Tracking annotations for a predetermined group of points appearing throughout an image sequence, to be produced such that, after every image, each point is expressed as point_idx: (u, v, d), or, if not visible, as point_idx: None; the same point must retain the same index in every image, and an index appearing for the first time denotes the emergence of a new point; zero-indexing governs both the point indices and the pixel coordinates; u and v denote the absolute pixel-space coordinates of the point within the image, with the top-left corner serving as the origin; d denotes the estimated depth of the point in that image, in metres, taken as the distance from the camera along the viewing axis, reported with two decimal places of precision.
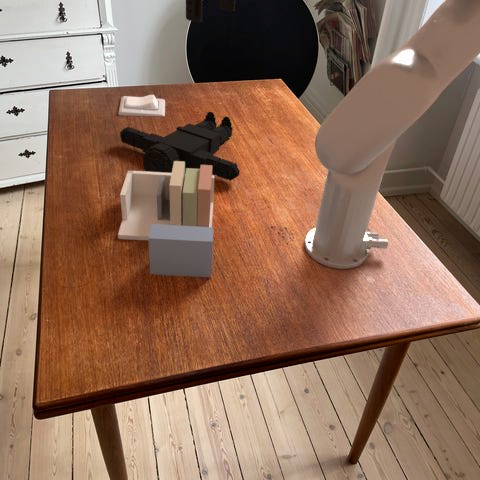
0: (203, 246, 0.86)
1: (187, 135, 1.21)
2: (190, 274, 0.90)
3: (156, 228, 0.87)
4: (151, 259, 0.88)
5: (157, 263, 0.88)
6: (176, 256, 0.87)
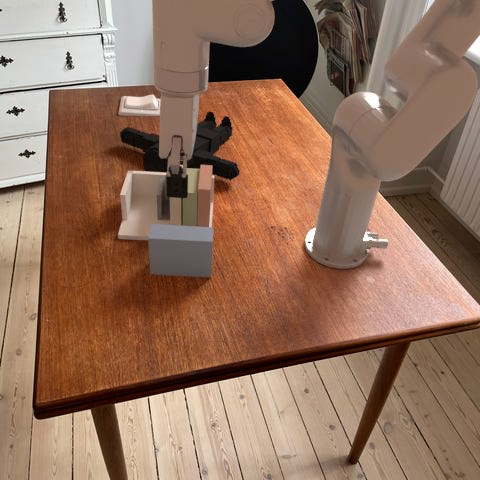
0: (203, 246, 0.86)
1: None
2: (190, 274, 0.90)
3: (156, 228, 0.87)
4: (151, 259, 0.88)
5: (157, 263, 0.88)
6: (176, 256, 0.87)
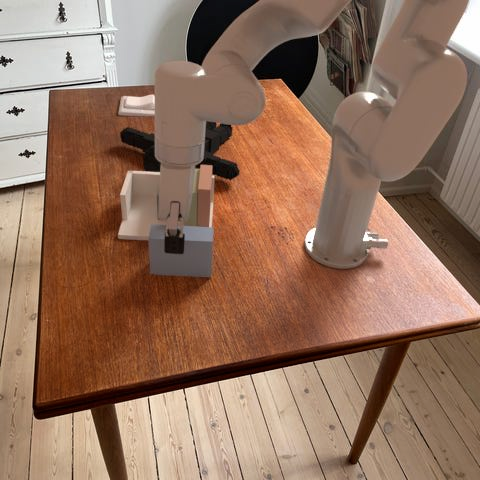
0: (203, 246, 0.86)
1: None
2: (190, 274, 0.90)
3: (156, 228, 0.87)
4: (151, 259, 0.88)
5: (157, 263, 0.88)
6: (176, 256, 0.87)
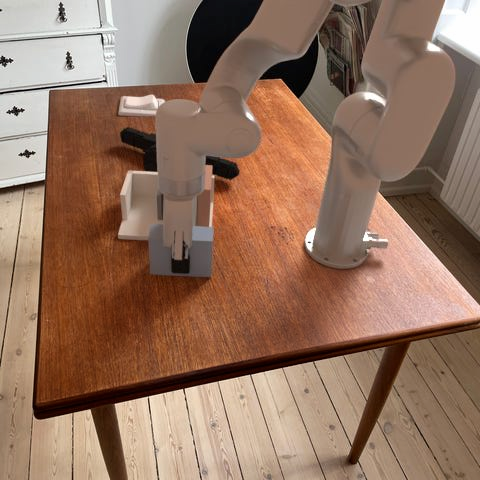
0: (203, 246, 0.86)
1: None
2: (190, 274, 0.90)
3: (156, 228, 0.87)
4: (151, 259, 0.88)
5: (157, 262, 0.88)
6: None
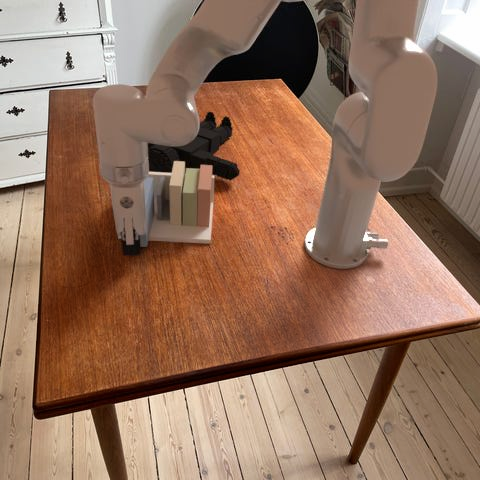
0: None
1: None
2: None
3: (146, 180, 0.96)
4: None
5: None
6: None
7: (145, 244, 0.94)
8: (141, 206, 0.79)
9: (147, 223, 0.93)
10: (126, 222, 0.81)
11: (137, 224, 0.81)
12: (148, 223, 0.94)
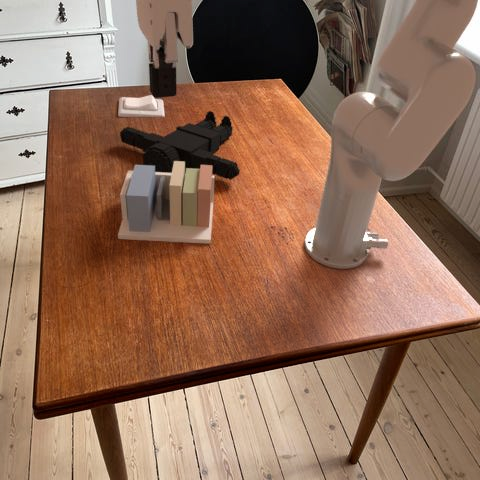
0: None
1: (187, 135, 1.21)
2: None
3: (148, 168, 1.00)
4: None
5: None
6: None
7: (148, 229, 0.97)
8: None
9: (150, 209, 0.97)
10: (167, 24, 0.57)
11: (184, 25, 0.57)
12: (151, 209, 0.98)
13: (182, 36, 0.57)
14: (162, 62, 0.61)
